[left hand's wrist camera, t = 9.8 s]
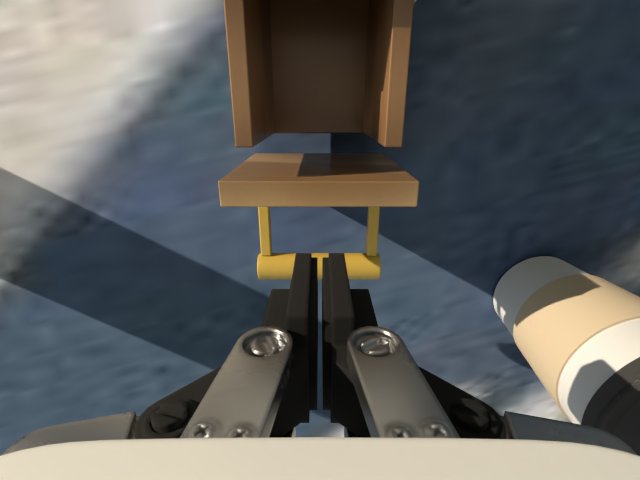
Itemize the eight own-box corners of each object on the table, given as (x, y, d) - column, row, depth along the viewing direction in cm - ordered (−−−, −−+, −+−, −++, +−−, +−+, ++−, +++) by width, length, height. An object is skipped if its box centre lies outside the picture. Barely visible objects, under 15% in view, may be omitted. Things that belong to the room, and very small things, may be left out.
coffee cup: (608, 299, 30) (858, 467, 16) (513, 355, 32) (661, 547, 18) (559, 221, 28) (804, 340, 14) (459, 287, 30) (584, 450, 16)
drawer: (377, 242, 28) (406, 311, 18) (260, 242, 27) (231, 311, 18) (401, -129, 20) (472, -330, 11) (236, -129, 20) (164, -331, 10)
